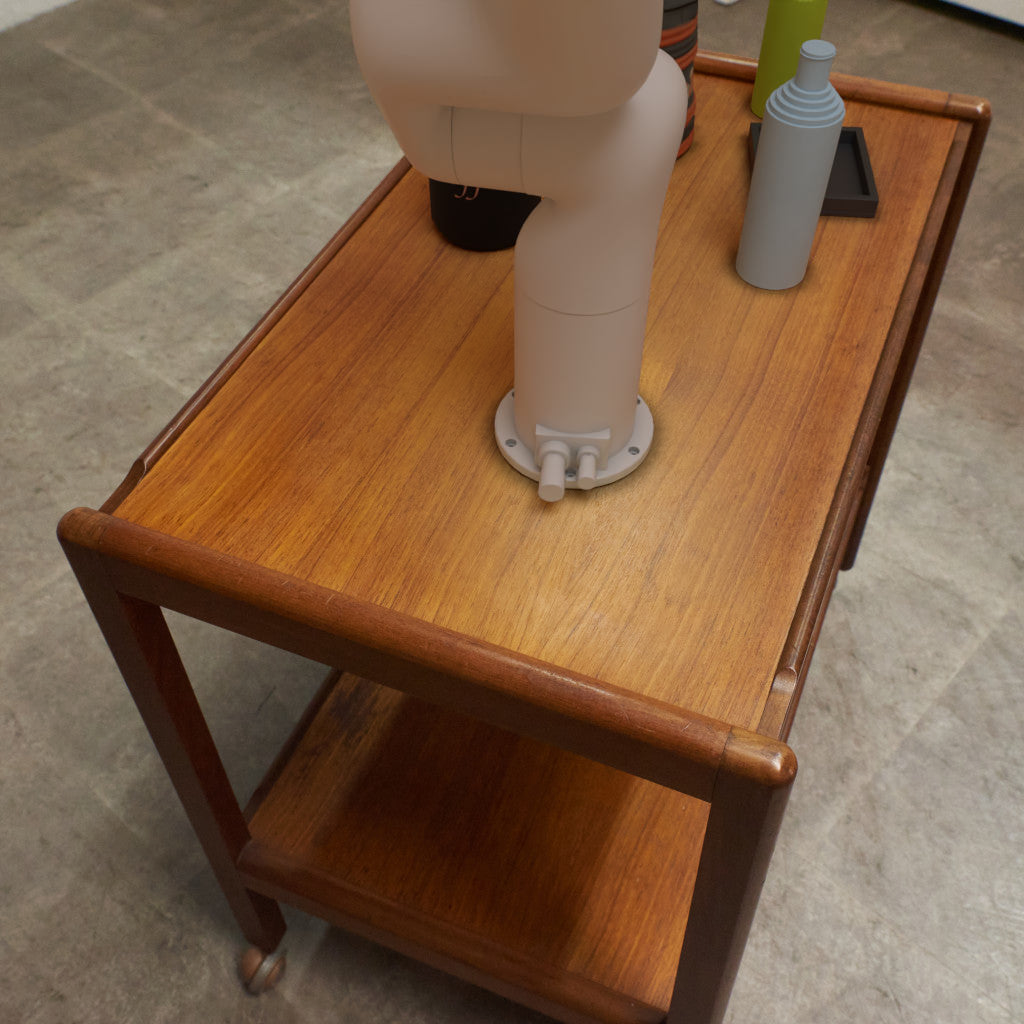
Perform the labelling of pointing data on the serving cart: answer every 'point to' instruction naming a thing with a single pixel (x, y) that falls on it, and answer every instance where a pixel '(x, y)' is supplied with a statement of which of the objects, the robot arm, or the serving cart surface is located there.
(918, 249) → the serving cart surface
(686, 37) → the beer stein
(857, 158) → the tray
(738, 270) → the bottle
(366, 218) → the serving cart surface
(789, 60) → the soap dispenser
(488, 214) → the coffee jar
